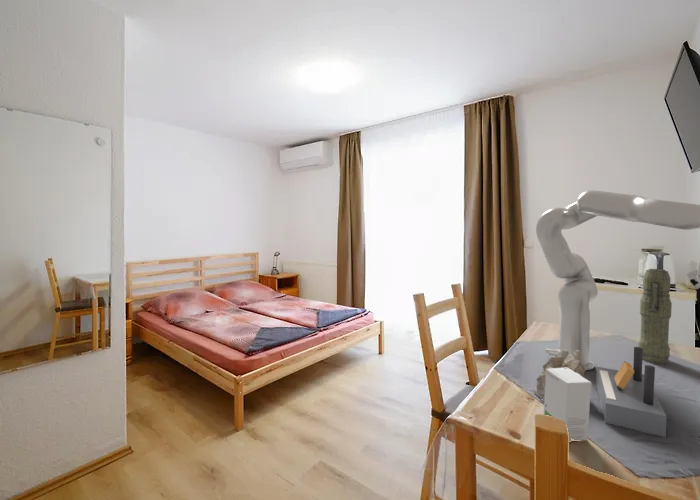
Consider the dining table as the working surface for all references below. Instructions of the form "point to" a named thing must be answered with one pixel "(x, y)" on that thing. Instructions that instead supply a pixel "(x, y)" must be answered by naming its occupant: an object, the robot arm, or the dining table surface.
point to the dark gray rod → (649, 384)
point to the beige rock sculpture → (559, 362)
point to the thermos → (655, 316)
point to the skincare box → (568, 400)
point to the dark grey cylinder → (637, 364)
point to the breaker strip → (629, 404)
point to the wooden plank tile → (623, 375)
